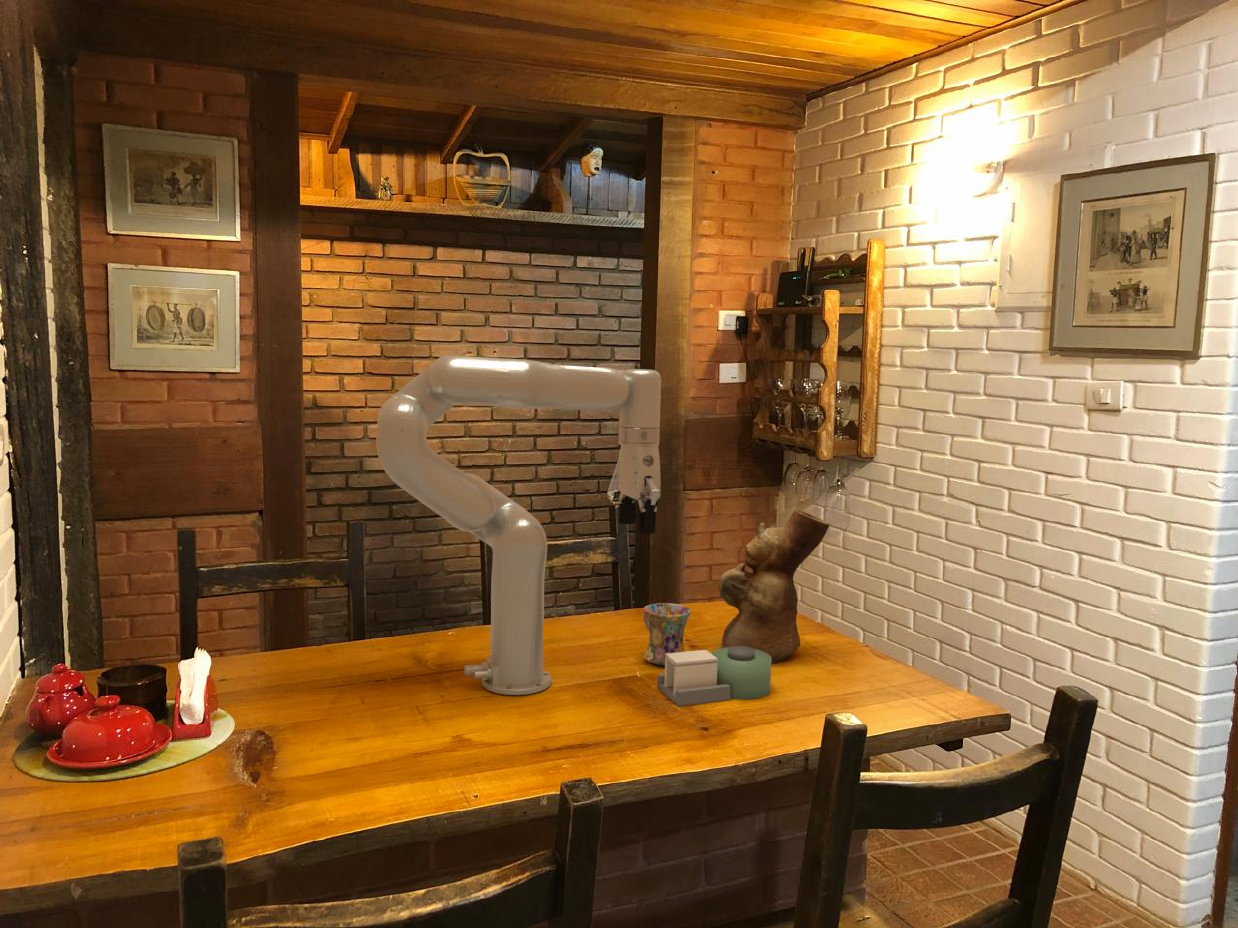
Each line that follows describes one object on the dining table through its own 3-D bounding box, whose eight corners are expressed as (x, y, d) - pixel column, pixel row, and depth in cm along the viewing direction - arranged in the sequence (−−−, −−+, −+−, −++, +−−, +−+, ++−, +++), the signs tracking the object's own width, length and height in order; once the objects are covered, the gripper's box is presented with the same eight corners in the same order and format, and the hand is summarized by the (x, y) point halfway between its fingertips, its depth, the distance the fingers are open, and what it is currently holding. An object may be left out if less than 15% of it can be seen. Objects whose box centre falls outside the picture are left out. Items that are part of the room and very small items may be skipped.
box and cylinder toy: (680, 707, 158) (681, 667, 157) (655, 685, 168) (656, 647, 168) (781, 695, 165) (783, 656, 164) (751, 674, 175) (753, 638, 175)
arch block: (704, 681, 168) (705, 649, 168) (716, 690, 164) (717, 658, 163) (664, 685, 166) (665, 653, 165) (675, 695, 161) (676, 662, 160)
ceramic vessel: (714, 639, 197) (719, 501, 193) (816, 643, 196) (823, 505, 193) (719, 664, 181) (725, 514, 178) (830, 668, 180) (838, 518, 177)
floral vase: (698, 663, 181) (700, 611, 180) (661, 672, 176) (663, 618, 175) (661, 647, 191) (662, 597, 190) (625, 654, 186) (626, 603, 184)
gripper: (677, 441, 162) (673, 536, 164) (640, 432, 178) (637, 519, 180) (637, 441, 159) (634, 538, 161) (603, 432, 175) (601, 521, 177)
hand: (636, 528), depth 170 cm, fingers open, 9 cm apart
